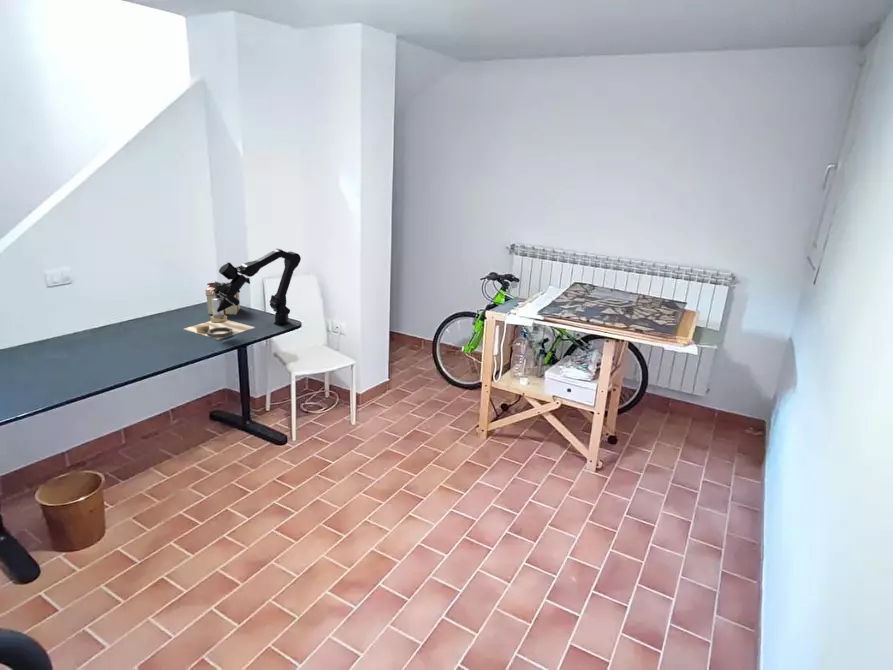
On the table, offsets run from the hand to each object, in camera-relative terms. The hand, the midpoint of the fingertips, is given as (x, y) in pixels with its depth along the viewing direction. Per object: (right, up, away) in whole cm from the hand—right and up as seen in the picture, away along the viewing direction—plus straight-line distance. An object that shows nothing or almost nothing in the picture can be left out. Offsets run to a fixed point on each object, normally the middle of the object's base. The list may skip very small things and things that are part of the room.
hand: (215, 310), depth 272 cm
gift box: (-11, 0, +40) cm, 42 cm away
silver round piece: (+1, -5, +3) cm, 6 cm away
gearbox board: (-3, -9, +13) cm, 16 cm away
